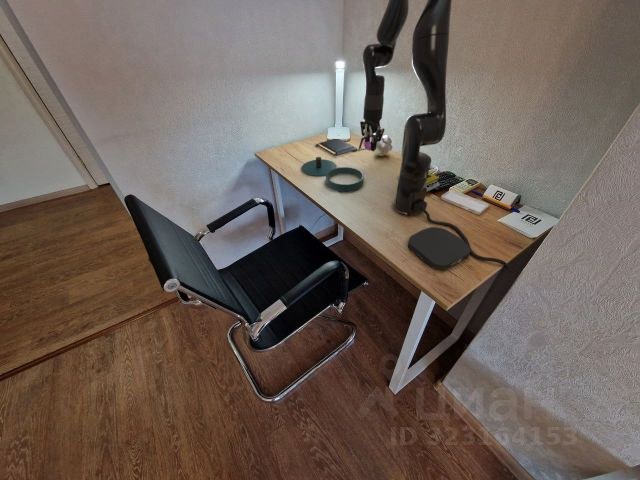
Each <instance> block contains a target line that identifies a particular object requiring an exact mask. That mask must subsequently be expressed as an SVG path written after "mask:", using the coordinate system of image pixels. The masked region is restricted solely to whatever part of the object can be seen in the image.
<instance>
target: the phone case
mask: <svg viewBox="0 0 640 480" xmlns="http://www.w3.org/2000/svg"><path fill="white" fill-rule="evenodd" d="M440 199H441V200H442V201H444V202H446V203H449V204H451V205H454V206H457V207H458V208H461V209H463V210H465V211H468V212H470V213H473V214H474V215H477V216H480V215H481V214H483V212H485V211H486V210H487V209H488V208H489V206H490V204H489V203H487V202H485V201H482V200H480V199H478V198H474V197H472V196H470V195H467V194H465V193H461V192H459V191H457V190H454V189H449V190H448V191H446V192H445V193H443V194H442V195H441V196H440Z"/></svg>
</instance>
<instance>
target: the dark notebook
mask: <svg viewBox="0 0 640 480" xmlns="http://www.w3.org/2000/svg"><path fill="white" fill-rule="evenodd" d="M315 146H316V147H317V148H320V149H322V150H324V151H325V152H327V153H328V154H331V155H332V156H333V157H338V156H341V155H345V154H348V153H353V152H357V151H358V148H357V147H356V146H353V145H351V144H350V143H348V142H345V141H343V140H341V139H339V138H338V139H335V138H332V139H327V140H325V141H322V142H318V143H316V144H315Z"/></svg>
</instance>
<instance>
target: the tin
mask: <svg viewBox="0 0 640 480" xmlns="http://www.w3.org/2000/svg"><path fill="white" fill-rule="evenodd" d="M344 174H345V175H346V174H347V175H353V176H355V177H358V178H359V180H357V181H355V182H352V183H337V182H334V181H332V180H331V178H333V177H334V176H338V175H344ZM364 178H365V174H364V172H363V171H362V170H360V169H358V168H356V167H351V166H339V167H337V168H335V169H332V170H330V171H329V172H328V173H327V174H326V176H325V184H326V187H328V188H330V189H331V190H333V191H337V192H338V193H342V194H343V193H344V194H345V193H352V192H356V191H358V190H361V188H362V187H363V186H364Z"/></svg>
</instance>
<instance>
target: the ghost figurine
mask: <svg viewBox="0 0 640 480" xmlns="http://www.w3.org/2000/svg"><path fill="white" fill-rule="evenodd" d="M392 143H393V141H392V139H391V138H390V136H388V135H383V136H382V139H381V141H379V142H377V146H376V150H374V152H373V153H374V154H375V155H376V156H378V157H385V156H387V155H388V154H389V153H390V152H391V151H392V150H393V145H392Z"/></svg>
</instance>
